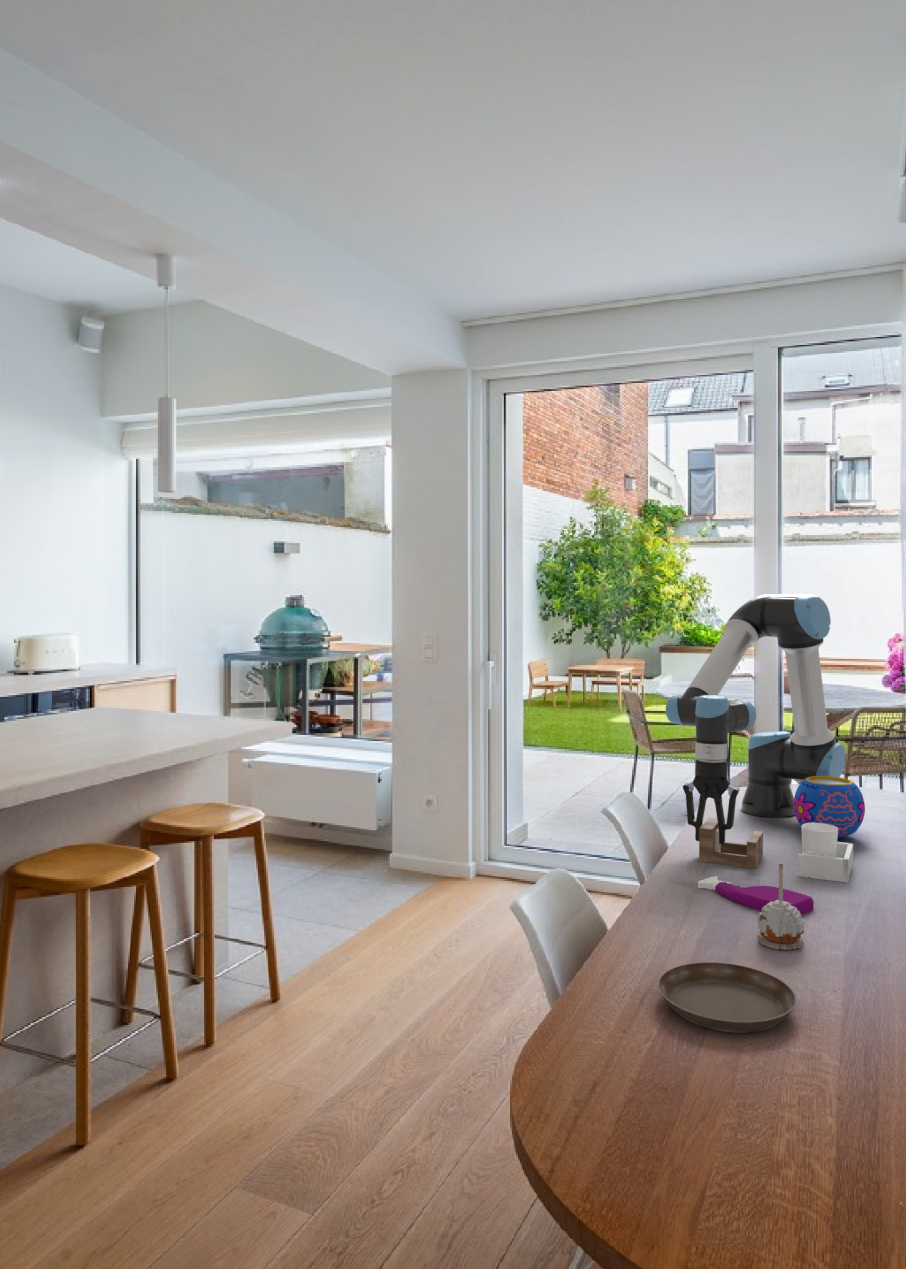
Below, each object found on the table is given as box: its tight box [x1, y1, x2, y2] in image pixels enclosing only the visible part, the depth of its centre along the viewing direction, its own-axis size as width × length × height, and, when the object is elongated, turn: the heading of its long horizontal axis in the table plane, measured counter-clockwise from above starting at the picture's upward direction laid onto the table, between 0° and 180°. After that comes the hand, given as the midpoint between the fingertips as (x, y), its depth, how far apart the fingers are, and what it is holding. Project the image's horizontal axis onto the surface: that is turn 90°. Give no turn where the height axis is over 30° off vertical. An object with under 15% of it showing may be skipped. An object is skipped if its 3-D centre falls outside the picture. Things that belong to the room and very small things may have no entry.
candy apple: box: [756, 862, 805, 951], centre depth 172 cm, size 8×8×15 cm
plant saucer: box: [657, 961, 797, 1034], centre depth 147 cm, size 21×21×3 cm
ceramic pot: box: [793, 776, 866, 840], centre depth 246 cm, size 18×18×15 cm
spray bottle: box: [697, 875, 815, 916], centre depth 198 cm, size 3×11×24 cm
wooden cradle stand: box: [698, 817, 764, 869], centre depth 226 cm, size 11×13×8 cm
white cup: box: [800, 823, 838, 858], centre depth 217 cm, size 8×8×10 cm
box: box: [797, 841, 854, 883], centre depth 217 cm, size 15×10×5 cm
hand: (709, 855), depth 229 cm, fingers closed on wooden cradle stand, 3 cm apart
